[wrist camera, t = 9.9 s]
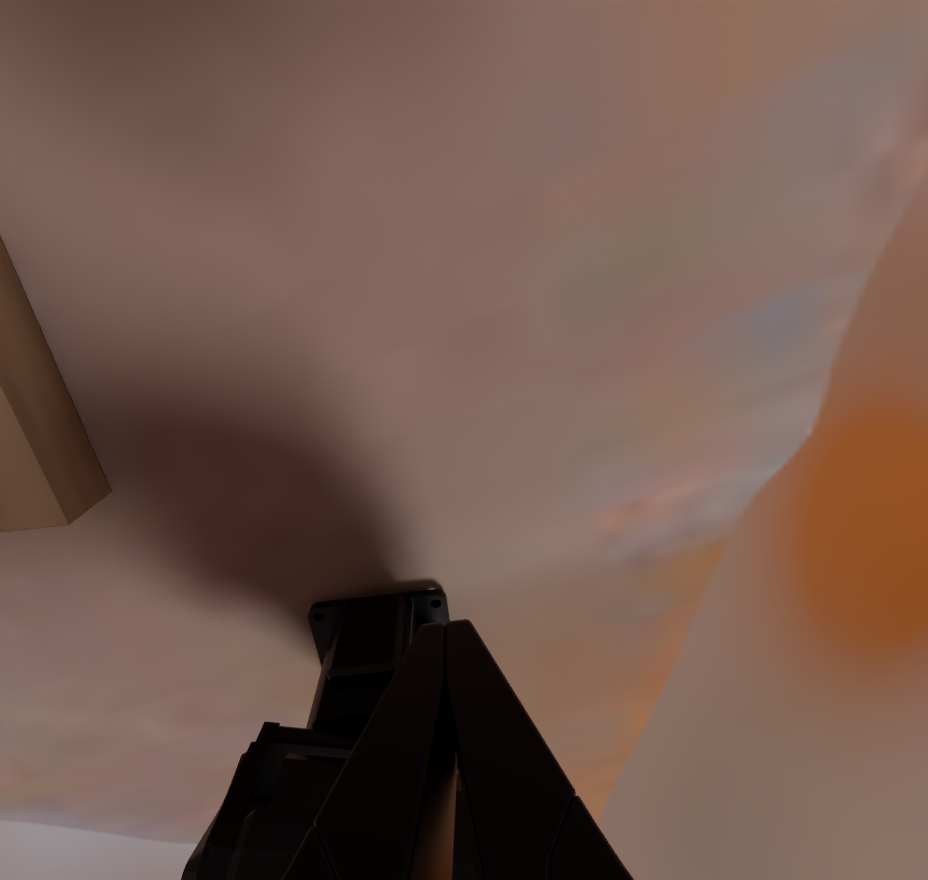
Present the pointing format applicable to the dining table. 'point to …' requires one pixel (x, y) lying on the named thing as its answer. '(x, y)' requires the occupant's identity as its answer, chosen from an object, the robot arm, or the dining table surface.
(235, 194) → the dining table surface
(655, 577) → the dining table surface
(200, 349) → the dining table surface
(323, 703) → the robot arm
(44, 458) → the brown flat block
